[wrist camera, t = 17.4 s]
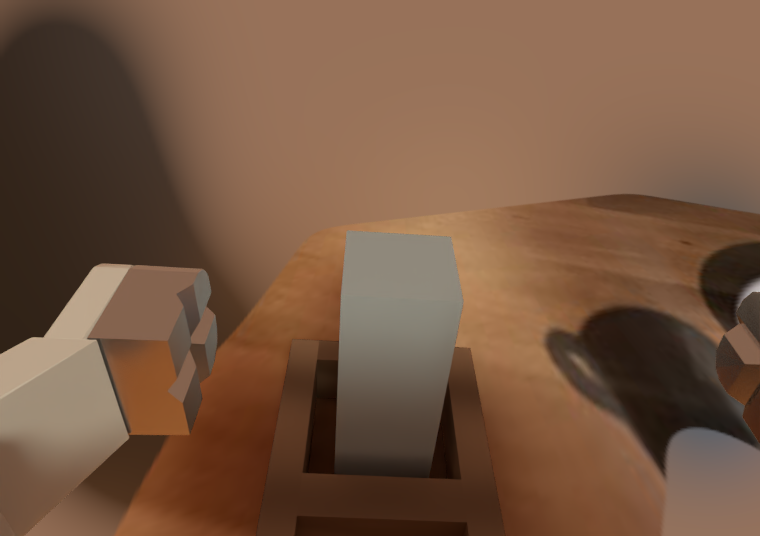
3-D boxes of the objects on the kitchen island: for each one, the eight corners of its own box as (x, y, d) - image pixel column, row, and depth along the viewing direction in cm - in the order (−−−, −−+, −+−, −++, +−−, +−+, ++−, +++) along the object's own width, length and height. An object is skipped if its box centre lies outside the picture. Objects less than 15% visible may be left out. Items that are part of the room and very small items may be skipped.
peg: (339, 416, 31) (346, 230, 24) (420, 420, 31) (451, 236, 25) (333, 489, 28) (340, 295, 21) (425, 493, 28) (463, 301, 21)
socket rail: (293, 376, 33) (292, 339, 32) (462, 385, 34) (470, 348, 32) (217, 819, 18) (207, 792, 16) (531, 825, 18) (554, 799, 17)
